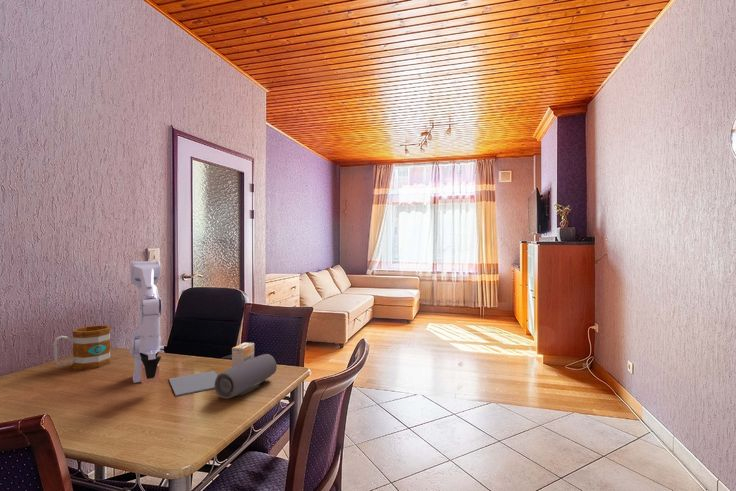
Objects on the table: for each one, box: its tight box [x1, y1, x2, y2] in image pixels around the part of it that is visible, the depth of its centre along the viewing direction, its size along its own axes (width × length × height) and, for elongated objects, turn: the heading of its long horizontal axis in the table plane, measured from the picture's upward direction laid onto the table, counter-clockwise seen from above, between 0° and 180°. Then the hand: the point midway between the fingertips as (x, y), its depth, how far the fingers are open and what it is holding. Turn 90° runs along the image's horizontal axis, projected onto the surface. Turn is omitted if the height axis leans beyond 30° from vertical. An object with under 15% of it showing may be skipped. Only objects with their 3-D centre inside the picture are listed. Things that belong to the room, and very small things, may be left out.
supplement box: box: [231, 342, 255, 368], centre depth 140 cm, size 8×5×13 cm, turn 168°
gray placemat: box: [168, 370, 219, 397], centre depth 136 cm, size 18×16×1 cm
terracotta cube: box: [140, 363, 160, 385], centre depth 125 cm, size 5×5×5 cm
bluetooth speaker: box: [214, 353, 278, 400], centre depth 131 cm, size 23×9×10 cm, turn 159°
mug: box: [52, 324, 112, 371], centre depth 154 cm, size 20×14×15 cm
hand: (149, 375), depth 125 cm, fingers closed on terracotta cube, 5 cm apart
